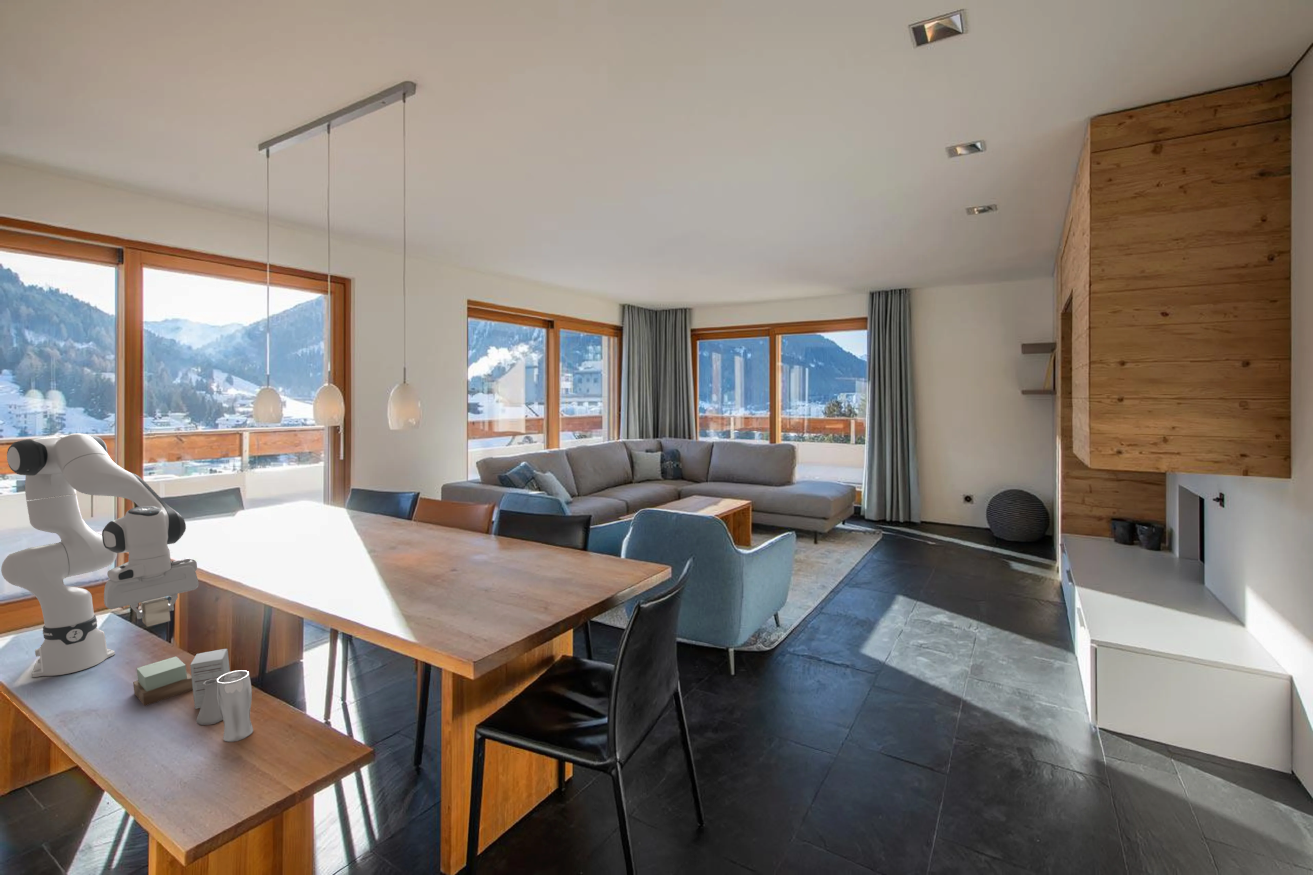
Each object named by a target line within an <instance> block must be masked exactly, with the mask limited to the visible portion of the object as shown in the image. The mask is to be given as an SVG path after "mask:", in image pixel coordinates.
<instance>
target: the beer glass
mask: <svg viewBox="0 0 1313 875" xmlns="http://www.w3.org/2000/svg"><path fill="white" fill-rule="evenodd" d="M252 689H253V688H252V681H251V677H250V672H249V671H247V670H242V669H241V670H233V671H230V673H227V674H224V675H222V676H220V677H219V678H218V679H217V701H218V706H219V709H220V712H221V715H222V718H223V720H222V722H223V727H224V728H223V729H224V730H223V737H222V738H223V741H224V742H227V743H234V742H238V741H242V740H244V739H246V738H248V737H249V736H251V735H252V734H253V732H254V728H253V725H252V720H251V707H252V699H253V698H252V696H253V691H252Z"/></svg>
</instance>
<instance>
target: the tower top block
mask: <svg viewBox="0 0 1313 875" xmlns="http://www.w3.org/2000/svg"><path fill="white" fill-rule="evenodd" d="M186 666H187V665H186V663H184V662H183V661H182V660H181V659H180V658H179V657H178V656H172V657H168V658H165V659H163V660H158V661H155V662H152V663H149V664H146V665H142V666H140V667H136V675H137V676H136V677H137V680H138V682H139V683H140V685H141V686H142V687H143V688H144V689H145V691H146V692H147V691H150V690H153V689H156V688H159V687H162V686H165V685H168V684H171V683H174V682H178V681H181V680H184V679H187V674H186V672H187V667H186Z"/></svg>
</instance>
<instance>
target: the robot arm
mask: <svg viewBox="0 0 1313 875" xmlns="http://www.w3.org/2000/svg"><path fill="white" fill-rule="evenodd" d="M108 452H109V451H108V447H107V443H106V442H105V441H104V440H103V439H102V438H101V437H100V436H96V435H91V434H86V433H71V434H66V435H56V436H49V437H41V438H34V439H32V438H31V439H30V438H27V439H21V440H17V441H14V442H13V443H12V444H11V445H10V446H9V447H8V448H7V451H6V460H7V463H8V465H7V466H8V467H9V469H10V470H12V472H13V473H15V474H17V475H20V476H25V481H24V485H25V486H24V491H25V492H24V493H25V501H26V505H27V506H26V507H27V513H28V519H29V524H30V525H31V526H32V527H33V528H34V529H36V530H38V531H41V532H45V533H46V532H47V533H52V534H56V535H57V536H58V537H59V538H60V540H61V541H59V542H55V543H54V542H53V543H50V544H44V545H38V546H32V547H28V548H25V549H21V550H18V551H15V552H13V553H10V554H8V555H7V556H6V557H5V558H4V559H3V562H2V565H1V566H0V567H1V569H0V570H1V571H0V572H1V575H2V577H3V578H4V580H5V581H6V582H8V583H9V584H11V585H13V586H16V587H19V588H22V589H24V590H27V591H28V592H30V593H31V594H32V595H34V596H35V597H36V599H37V600H38V602H39V605H40V608H41V612H42V617H43V622H44V625H43V627H42V634H43V639H44V640H43V642H42V643H41V644H40V647H39V648H35V650H34V654H35V655H34V656H35V657H37V659H36V662H35V664H34V668H33V671H32V673H31V677H32V678H39V677H44V676H50V677H51V676H61V675H67V674H71V673H76V672H79V671H80V672H81V671H83V670H86V669H89V668H92V667H94V666H96V665H99V664H101V663H102V662H104V661H106V659H108V658H110V657H112V656H115V655H116V652H115V650H113V649H110V648H108V647H107V640H106V635H105V631H103V630H101V629H99V628H98V620H97V616H96V615H95V613H94V612H95V611H94V604H93V597H92V596H93V595H92V593H91V592H90V591H89V590H87V589H86V588H82V587H80V586H79V587H77V586H72V585H71V586H69V585H65V583H64V579H66V578H70V577H74V576H80V575H84V574H88V573H93V572H96V571H100V570H102V569H104V568H107V567H110V566H111V565H113V564H114V562H115V561H116V559H117V557H118V554H122V553H123V554H124V553H128V561H127V562H125V563H123V564H120V565H118V566H116V567H113V568H111V569H109V570H107V578H108V579H109V580H107V581H106V583H105V585H104V593H103V604H104V606H105V607H106V608H107V609H110V610H113V609H118V608H123V607H126V606H129V608H130V609H132V610H133V611H134V612H135V614H136V619H137V620H140V619H142V618H144V617H145V615H144V614H145V612H144V611H143V610H141V609H140V610H139V609H138V607H139V604H141V602H144V601H149V600H153V599H157V598H161V597H165V598H167V597H169V598H170V600H169V601H168V603H169V612H171V611H174V610H175V607H174V605H175V604H176V602H177V600H178V598H179V597H178V594H181V593H182V594H183V593H186V592H192V591H195V590H197V588H198V587H199V578H198V575H197V569H198V563H197V561H196V559H194V558H193V559H192V558H189V557H186V558H184V559H183V558H182V559H176V560H171V551H170V549H169V546H168V545H172V544H173V545H174V544H176V543H177V542H178V541H180V539H181V538H182V537H183V535H184V534H185V532H186V529H187V526H186V521H185V519H184V517H183V516H182V515H181V514H180V513H179V512H178V511H176V510H175V509H173V508H172V507H170V506H169V505H168V504H167V503H166V502H165V501H164V500H163V499H162V497H161V496H159V495H158V493H156V492H155V491H154V489H153V488H152V487H150V485H149V484H148V483H147V482H146V481H145V480H144V479H143V478H142V477H141V476H139V475H138V474H136V473H133V472H130V471H128V470H126V469H124V468H122V466H120V465H118V464H117V463H116V462H114V461H113V460H112V458H111V457H110V455H109V453H108ZM77 492H79V493H81V494H85V495H87V496H88V495H89V496H98V497H99V496H101V497H103V496H104V497H116V498H123V499H125V500H129V501H131V502H133V503H135V504H136V505H137V507H133V508H130V509H129V510H127V511H126V512H125V515H124V516H122V517H118V518H117V519H114V520H110V521H109V522H108V523H106V525H105V527H103V529H102V532H101V534H100V533H97V532H96V531H95V530H93V529H92V528H91V527H90V526H89V525H88V524H87V523H86V522H85V519H84V517H83V516H82V512H81V509H80V503H79V500H78V494H77Z"/></svg>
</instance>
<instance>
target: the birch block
mask: <svg viewBox="0 0 1313 875" xmlns="http://www.w3.org/2000/svg"><path fill="white" fill-rule="evenodd" d="M141 610H143V611H144V612H145V614H144V615H145V617H144V618H141V619H142V623H143V624H144V625H145V626H146V627H153V626H155V625H159V624H163V623H166V622H171V613H170V611H169V599H168V598H167V597H161V598H157V599H153V600H149V601H144V602H140V611H141Z"/></svg>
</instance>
